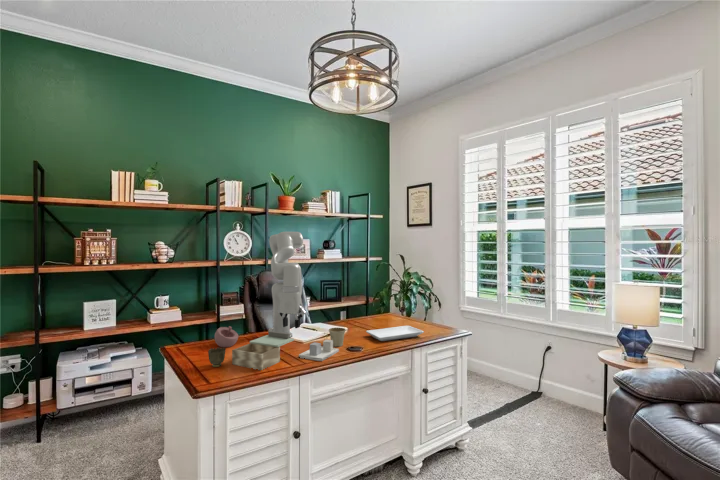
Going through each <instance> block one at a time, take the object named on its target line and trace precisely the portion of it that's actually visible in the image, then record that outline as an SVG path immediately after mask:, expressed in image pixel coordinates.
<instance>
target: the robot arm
mask: <svg viewBox="0 0 720 480" xmlns="http://www.w3.org/2000/svg"><path fill="white" fill-rule="evenodd" d="M268 243H269V248H270V250H271V253H272V256H271V260H270V268H271V269H270V270H271V275H272V277H273V278H274V279H276V280H277V281H282V282H276V283H274V284H272V286H271V297H272V312H273V313H272V321H273V322H272V326H273V327H269V328H268V332H269V331H274V332H282V333H289V334H290V338H291V336H292V337H293V333H292V332H290V331H291V330H290V329H291V328H290V327H291V325H290V324H291V322H290V321H291V318H290V317H291V315H294V316H295V320H294V328H295V329H298V328H300V327H301V326H300V325H301V319H302V318H303V317H304V316H305V314H306V313H307V312H306V310H305V309H304V307H303V299H302V294H303V286H302V285H303V281H302V279H303V278H302V268H301V266H300V264H299V263H297V262H289V259H290V258H291V259H292V257H293V256H294V255H295V249H299V248H301V247H302V246H303V243H304V237H303V234H302V233H301V232H300V231H281V232H279V233H277V234H272V235H270V237H269V242H268Z"/></svg>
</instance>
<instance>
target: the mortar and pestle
mask: <svg viewBox="0 0 720 480" xmlns="http://www.w3.org/2000/svg"><path fill="white" fill-rule="evenodd" d="M232 328H233V327H232V326H230V325H229V326H228V327H227V326H220V327H219V328H217V329H216V330H215V333H214V342H215V344H217V346H218V347H220V348H222V347H223V348H231V347H233V346H234V345H235V344H236V343H237V342H238V339H239V334H238V332H237V331H235V330H234V329H232Z"/></svg>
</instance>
